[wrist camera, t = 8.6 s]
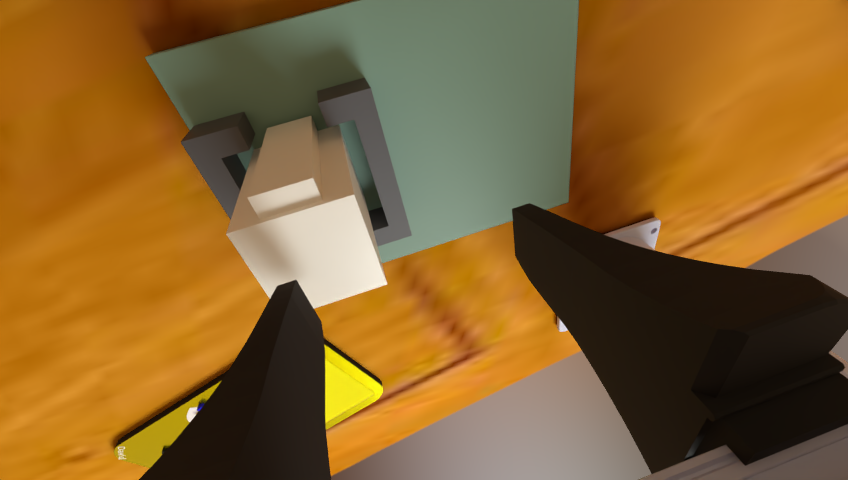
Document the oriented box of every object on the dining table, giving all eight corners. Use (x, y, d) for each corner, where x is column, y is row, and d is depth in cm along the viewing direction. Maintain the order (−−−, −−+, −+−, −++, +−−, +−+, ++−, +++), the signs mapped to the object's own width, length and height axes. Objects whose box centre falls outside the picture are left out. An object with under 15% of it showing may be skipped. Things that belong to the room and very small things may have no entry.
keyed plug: (364, 197, 19) (387, 284, 14) (290, 220, 19) (283, 318, 13) (333, 107, 16) (345, 171, 11) (245, 132, 16) (211, 212, 11)
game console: (298, 314, 25) (298, 331, 24) (390, 379, 31) (393, 394, 30) (107, 441, 27) (98, 461, 26) (230, 476, 34) (228, 493, 33)
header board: (559, 194, 24) (587, 218, 22) (290, 282, 22) (288, 317, 20) (568, -56, 16) (613, -63, 14) (153, 53, 14) (123, 66, 12)
